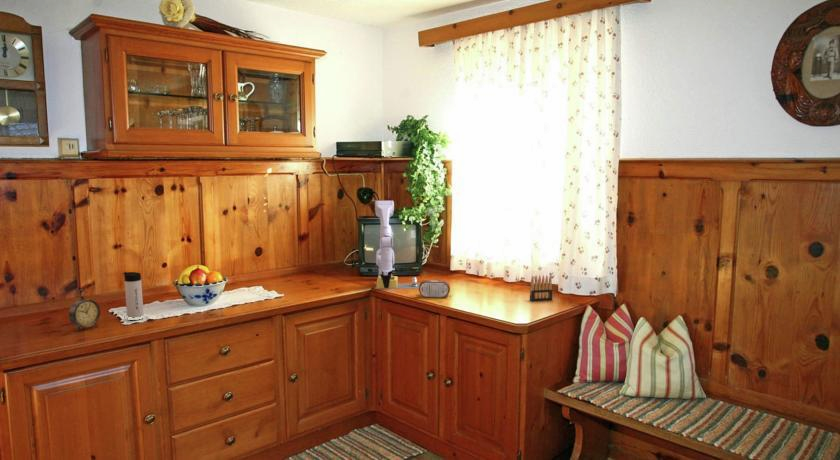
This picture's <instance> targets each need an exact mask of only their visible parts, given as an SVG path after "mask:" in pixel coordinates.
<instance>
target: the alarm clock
mask: <svg viewBox="0 0 840 460" xmlns="http://www.w3.org/2000/svg"><path fill="white" fill-rule="evenodd" d="M81 291H84V295H80V292H81ZM86 294H87V291H86V289H84V288H81V289H79V290H78V292H77V295H78V297H80V299H78V300H76V301H74V302H73V303H72V304H71V305H70V308H69V309H68V319H69V322H70V323H71V324H72V325H73V326H75V327H76V331H78V332H79V330H80V328H81V327H82V328H90V327H92V326H94V325H95V326H96V325H98V323H97V322H98V321H99V320H100V316H101V307H100V305H99V304H98V302H97V301H95V300H93V299H89V298H87V299H86V298H84V297H85V296H86Z"/></svg>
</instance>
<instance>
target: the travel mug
mask: <svg viewBox="0 0 840 460" xmlns="http://www.w3.org/2000/svg"><path fill="white" fill-rule="evenodd" d="M122 275H124V276H123V277H124V293H125V306H126V307H125V308H126V317H127V316H128V317H132V318H135V317H141V316H143V315H144V303H143V301H144V300H143V288H142V287H143V286H142V275H141V272H135V271H133V272H132V271H130V272H128V271H126V272H123V273H122Z"/></svg>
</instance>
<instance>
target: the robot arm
mask: <svg viewBox="0 0 840 460" xmlns="http://www.w3.org/2000/svg"><path fill="white" fill-rule="evenodd" d="M374 206H375V207H374V209H375V216H376V217H377V218H379V220H380V226H379V227H380V228H379V234H380V235H379V237H380V238H379V249H377V250H376V252H375V264H376V266H378V276H381V278H382V280H383V285H384V288H388V287H389V281H390V278H391V276H393V271H395V267H394V268H393V266H394V265H395V251H394V250H393V246H394V238H393V235H392V226H391V225H390V223H389V222H390V218H391V217H392V216H394V211H395V202H394V200H393V199H392V200H378V199H377V200H375V202H374Z"/></svg>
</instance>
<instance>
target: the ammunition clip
mask: <svg viewBox="0 0 840 460" xmlns="http://www.w3.org/2000/svg"><path fill="white" fill-rule="evenodd" d="M543 301H545V302H546V301H553V282H552V275H551V274H550V275H549V276H548V275H544V274H543V275H542V277H541V275H539V276H537V275H535V277H534V275H531V279H530V289H529V302H543Z"/></svg>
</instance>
